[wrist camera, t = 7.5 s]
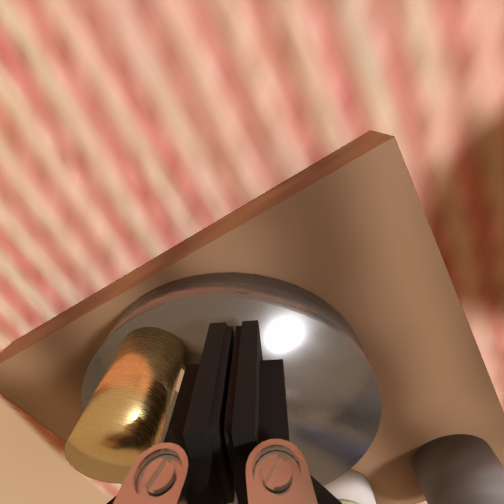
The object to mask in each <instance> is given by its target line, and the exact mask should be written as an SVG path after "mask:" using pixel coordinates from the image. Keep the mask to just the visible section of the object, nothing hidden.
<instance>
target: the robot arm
mask: <svg viewBox="0 0 504 504" xmlns="http://www.w3.org/2000/svg"><path fill="white" fill-rule="evenodd" d="M235 492H236V496H237V501H238V504H342V503H341V502H340V501H339V500H338V499H337V498H336V497H335V496H333V495H332V494H331V493H330V492H329V491H328V490H327V489H326V488H325V487H324V486H322V485H321V484H320V483H319V482H318V481H317V480H316V479H315V478H314V477H312V476H311V475H310V473H309V470H308V466H307V462H306V460H305V458H304V456H303V453H302V452H301V451H300V450H299V449H298V447H297V446H295V445H294V444H292V443H291V442H290V440H289V427H288V415H287V402H286V390H285V377H284V365H283V359H276V360H263V357H262V348H261V339H260V330H259V322H258V320H253V321H242V326H236V330H235V336H234V330H233V326H227V323H226V322H221V323H210V325H209V328H208V332H207V336H206V340H205V344H204V348H203V353H202V357H201V361H200V364H188V365H187V366H186V369H185V372H184V375H183V378H182V382H181V385H180V389H179V392H178V395H177V399H176V402H175V406H174V409H173V412H172V416H171V419H170V423H169V426H168V429H167V433H166V436H165V439H164V443H160V444H157V445H154V446H152V447H150V448H149V449H147V450H146V451H144V452H143V453H142V454H141V455H140V456H139V457H138V458H137V459H136V461H135V462H134V464H133V465H132V467H131V469H130V471H129V473H128V475H127V476H126V478H125V480H124V482H123V484H122V486H121V488H120V490H119V492H118V494H117V496H115V497H114V498H113V499H112V500H111V501H109V502H108V503H107V504H227V503H234V499H235Z"/></svg>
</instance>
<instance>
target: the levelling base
mask: <svg viewBox="0 0 504 504" xmlns="http://www.w3.org/2000/svg"><path fill="white" fill-rule="evenodd" d="M221 272H239V273H249V274H258V275H263V276H267V277H272V278H277V279H280V280H283V281H286V282H289V283H292V284H294V285H297V286H299V287H301V288H303V289H305V290H307V291H309V292H311V293H313V294H315V295H316V296H318V297H319V298H321V299H323V300H324V301H326V302H327V303H329V304H330V305H331V306H332V307H333V308H334V309H335V310H337V311H338V312H339V313H340V314H341V315H342V316H343V317H344V319H345V320H346V321H347V322H348V323H349V324H350V326H351V327H352V328H353V330H354V332H355V334H356V335H357V337H358V339H359V340H360V343H361V345H362V347H363V350H364V352H365V354H366V357H367V359H368V361H369V364H370V366H371V368H372V371H373V373H374V376H375V378H376V381H377V384H378V386H379V389H380V395H381V401H382V412H381V420H380V424H379V429H378V431H377V434H376V436H375V438H374V441H373V442H372V444H371V446H370V447H369V449H368V450H367V452H366V453H365V454H364V455H363V457H362V458H361V459H360V460H359V461H358V462H357V463H356V464H355V465H354V466H353V467H352V468H351V469H349V470H348V471H347V472H346V473H344V474H343V475H342V476H340V477H339V478H337V479H336V480H334V481H332V482H330V483H329V484H327V485H325V486H324V487H325V488H326V489H327V490H328V491H329V492H330V493H331V494H332V495H333V496H335V497H336V498H337V499H338V500H339V501H340V502H341V503H342V504H416V503H419V502H423V501H427V503H428V504H504V412H503V409H502V407H501V404H500V402H499V399H498V397H497V394H496V392H495V389H494V387H493V384H492V382H491V379H490V377H489V374H488V372H487V369H486V367H485V364H484V361H483V359H482V356H481V354H480V351H479V349H478V346H477V344H476V341H475V339H474V336H473V334H472V331H471V329H470V326H469V324H468V321H467V318H466V316H465V313H464V311H463V308H462V306H461V303H460V301H459V298H458V296H457V293H456V291H455V288H454V286H453V283H452V281H451V278H450V276H449V273H448V270H447V268H446V265H445V263H444V260H443V258H442V255H441V253H440V250H439V248H438V245H437V243H436V240H435V238H434V235H433V233H432V230H431V227H430V225H429V222H428V220H427V217H426V215H425V212H424V210H423V207H422V205H421V202H420V200H419V197H418V195H417V192H416V190H415V187H414V185H413V182H412V179H411V177H410V174H409V172H408V169H407V167H406V164H405V162H404V159H403V157H402V154H401V152H400V149H399V147H398V144H397V142H396V139H395V137H394V136H390V135H387V134H383V133H379V132H375V131H371V130H370V131H369V132H367V133H365V134H364V135H362V136H360V137H359V138H357V139H355V140H354V141H352V142H350V143H348V144H347V145H345V146H343V147H342V148H340V149H338V150H337V151H335V152H333V153H332V154H330V155H328V156H327V157H325V158H323V159H321V160H320V161H318V162H316V163H315V164H313V165H311V166H310V167H308V168H306V169H305V170H303V171H301V172H299V173H298V174H296V175H294V176H293V177H291V178H289V179H288V180H286V181H284V182H283V183H281V184H279V185H277V186H276V187H274V188H272V189H271V190H269V191H267V192H266V193H264V194H262V195H261V196H259V197H257V198H255V199H254V200H252V201H250V202H249V203H247V204H245V205H244V206H242V207H240V208H239V209H237V210H235V211H233V212H232V213H230V214H228V215H227V216H225V217H223V218H222V219H220V220H218V221H217V222H215V223H213V224H211V225H210V226H208V227H206V228H205V229H203V230H201V231H200V232H198V233H196V234H195V235H193V236H191V237H190V238H188V239H186V240H184V241H183V242H181V243H179V244H178V245H176V246H174V247H173V248H171V249H169V250H168V251H166V252H164V253H162V254H161V255H159V256H157V257H156V258H154V259H152V260H151V261H149V262H147V263H146V264H144V265H142V266H140V267H139V268H137V269H135V270H134V271H132V272H130V273H129V274H127V275H125V276H124V277H122V278H120V279H118V280H117V281H115V282H113V283H112V284H110V285H108V286H107V287H105V288H103V289H102V290H100V291H98V292H96V293H95V294H93V295H91V296H90V297H88V298H86V299H85V300H83V301H81V302H80V303H78V304H76V305H74V306H73V307H71V308H69V309H68V310H66V311H64V312H63V313H61V314H59V315H58V316H56V317H54V318H53V319H51V320H49V321H47V322H46V323H44V324H42V325H41V326H39V327H37V328H36V329H34V330H32V331H31V332H29V333H27V334H25V335H24V336H22V337H20V338H19V339H17V340H15V341H14V342H12V343H11V344H10V345H9V346H8V347H7V348H6V349H5V350H4V351H3V352H2V353H1V354H0V394H2V395H3V396H4V397H6V398H7V399H8V400H10V401H11V402H12V403H14V404H15V405H16V406H18V407H19V408H20V409H22V410H23V411H24V412H26V413H27V414H28V415H30V416H31V417H32V418H34V419H35V420H36V421H38V422H39V423H40V424H42V425H43V426H44V427H46V428H47V429H48V430H50V431H51V432H52V433H54V434H55V435H56V436H58V437H59V438H60V439H62V440H63V441H64V442H67V440H68V438H69V437H70V435H71V433H72V431H73V430H74V428H75V426H76V424H77V422H78V421H79V419H80V417H81V415H82V413H83V410H82V405H81V390H82V385H83V380H84V376H85V374H86V371H87V369H88V367H89V364H90V362H91V361H92V359H93V357H94V356H95V354H96V353H97V351H98V350H99V348H100V347H101V345H102V343H103V342H104V340H105V339H106V337H107V336H108V334H109V332H110V331H111V329H112V328H113V326H114V325H115V323H116V322H117V320H118V319H119V317H120V316H121V315H122V314H123V313H124V312H125V311H126V310H127V309H128V308H129V307H130V306H131V305H132V304H134V303H135V302H136V301H137V300H139V299H140V298H141V297H143V296H144V295H146V294H148V293H149V292H151V291H153V290H155V289H157V288H158V287H161V286H163V285H166V284H168V283H171V282H173V281H176V280H179V279H183V278H187V277H191V276H195V275H201V274H209V273H221ZM120 484H123V483H120Z"/></svg>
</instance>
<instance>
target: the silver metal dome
mask: <svg viewBox="0 0 504 504" xmlns="http://www.w3.org/2000/svg"><path fill="white" fill-rule="evenodd" d="M253 320H258V322H259V330H260V339H261V348H262V357H263V360H276V359H283V365H284V377H285V390H286V402H287V415H288V427H289V440H290V442H291V443H292V444H294V445H295V446H297V447H298V449H299V450H300V451H301V452H302V453H303V456H304V458H305V460H306V462H307V466H308V470H309V473H310V475H311V476H312V477H314V478H315V479H316V480H317V481H318V482H319V483H320V484H321V485H322V486H325V485H327V484H329V483H330V482H332V481H334V480H336V479H337V478H339V477H340V476H342V475H343V474H344V473H346V472H347V471H348V470H349V469H351V468H352V467H353V466H354V465H355V464H356V463H357V462H358V461H359V460H360V459H361V458H362V457H363V455H364V454H365V453H366V452H367V450H368V449H369V447H370V446H371V444H372V442H373V441H374V438H375V436H376V434H377V431H378V429H379V424H380V420H381V412H382V401H381V395H380V389H379V386H378V384H377V381H376V378H375V376H374V373H373V371H372V368H371V366H370V364H369V361H368V359H367V357H366V354H365V352H364V350H363V347H362V345H361V343H360V340H359V339H358V337H357V335H356V334H355V332H354V330H353V328H352V327H351V326H350V324H349V323H348V322H347V321H346V320H345V319H344V317H343V316H342V315H341V314H340V313H339V312H338V311H337V310H335V309H334V308H333V307H332V306H331V305H330V304H329V303H327V302H326V301H324V300H323V299H321V298H319V297H318V296H316V295H315V294H313V293H311V292H309V291H307V290H305V289H303V288H301V287H299V286H297V285H294V284H292V283H289V282H286V281H283V280H280V279H277V278H272V277H267V276H263V275H258V274H249V273H239V272H221V273H209V274H201V275H195V276H191V277H187V278H183V279H179V280H176V281H173V282H171V283H168V284H166V285H163V286H161V287H158V288H157V289H155V290H153V291H151V292H149V293H148V294H146V295H144V296H143V297H141V298H140V299H139V300H137V301H136V302H135V303H134V304H132V305H131V306H130V307H129V308H128V309H127V310H126V311H125V312H124V313H123V314H122V315H121V316H120V317H119V319H118V320H117V322H116V323H115V325H114V326H113V328H112V329H111V331H110V332H109V334H108V336H107V337H106V339H105V340H104V342H103V343H102V345H101V347H100V348H99V350H98V351H97V353H96V354H95V356H94V357H93V359H92V361H91V362H90V364H89V367H88V369H87V371H86V374H85V376H84V380H83V385H82V390H81V405H82V410H83V413H82V415H81V417H80V419H79V421H78V422H77V424H76V426H75V428H74V430H73V431H72V433H71V435H70V437H69V438H68V440H67V442H66V444H65V448H64V452H65V456H66V458H67V460H68V462H69V463H70V464H71V465H72V467H74V468H75V469H76V470H77V471H79V472H80V473H82V474H83V475H85V476H87V477H90V478H92V479H95V480H98V481H102V482H107V483H123V482H124V480H125V478H126V476H127V475H128V473H129V471H130V469H131V467H132V465H133V464H134V462H135V461H136V459H137V458H138V457H139V456H140V455H141V454H142V453H143V452H144V451H146V450H147V449H149V448H150V447H152V446H154V445H157V444H160V443H164V439H165V436H166V433H167V429H168V426H169V423H170V419H171V416H172V412H173V409H174V406H175V402H176V399H177V395H178V392H179V389H180V385H181V382H182V378H183V375H184V372H185V369H186V366H187V365H188V364H200V361H201V357H202V353H203V348H204V344H205V340H206V336H207V332H208V328H209V325H210V323H221V322H226V323H227V326H233V330H234V336H235V330H236V326H242V321H253ZM227 504H238V501H237V496H236V492H235V499H234V503H227Z"/></svg>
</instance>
